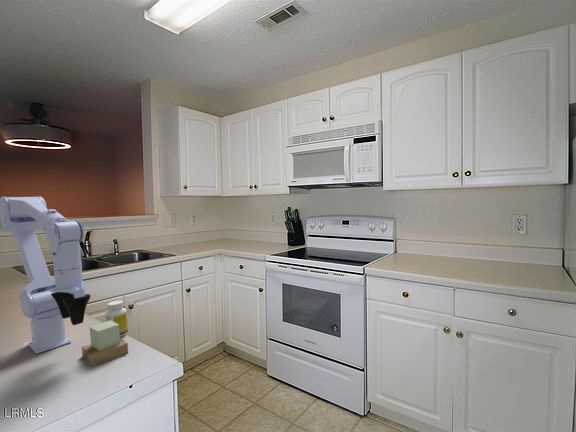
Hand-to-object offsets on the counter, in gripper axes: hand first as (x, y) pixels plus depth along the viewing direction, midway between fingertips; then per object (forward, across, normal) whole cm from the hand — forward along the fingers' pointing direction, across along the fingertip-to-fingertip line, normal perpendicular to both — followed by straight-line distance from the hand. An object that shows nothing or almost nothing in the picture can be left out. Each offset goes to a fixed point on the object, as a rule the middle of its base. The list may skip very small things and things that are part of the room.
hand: (72, 320), depth 79 cm
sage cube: (+7, +6, +5) cm, 10 cm away
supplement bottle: (+10, -4, +12) cm, 16 cm away
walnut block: (+10, +6, +5) cm, 13 cm away
